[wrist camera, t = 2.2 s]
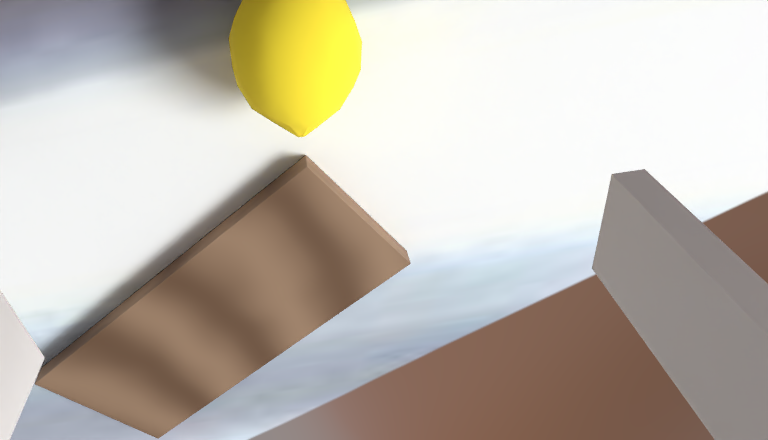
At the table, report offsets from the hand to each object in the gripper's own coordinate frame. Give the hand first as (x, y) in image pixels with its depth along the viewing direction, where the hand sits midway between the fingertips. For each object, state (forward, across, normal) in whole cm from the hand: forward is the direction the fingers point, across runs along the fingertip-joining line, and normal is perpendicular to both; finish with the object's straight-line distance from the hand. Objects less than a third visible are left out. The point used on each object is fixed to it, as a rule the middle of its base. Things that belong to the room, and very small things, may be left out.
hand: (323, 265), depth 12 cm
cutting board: (+16, -7, -16) cm, 24 cm away
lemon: (+16, 0, 0) cm, 16 cm away
